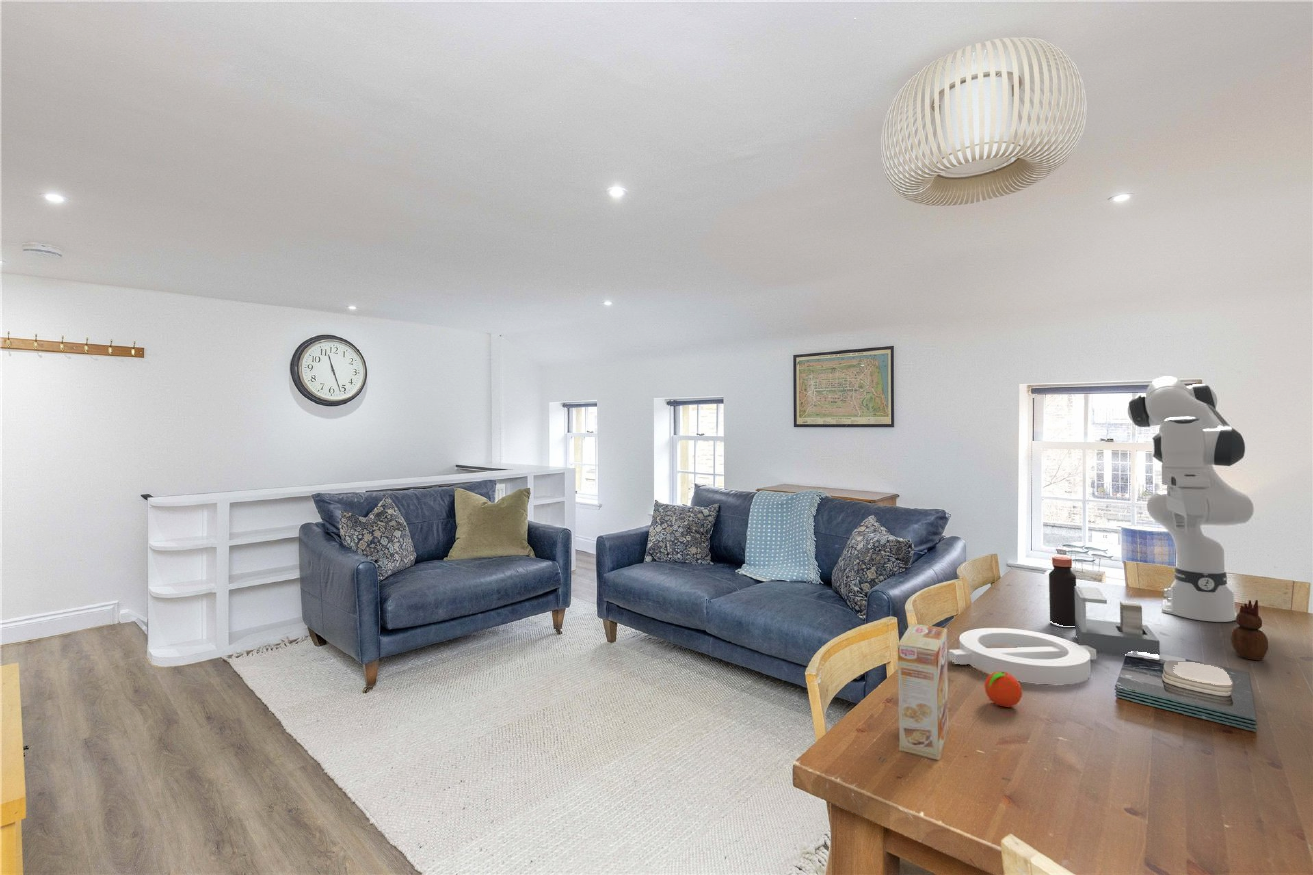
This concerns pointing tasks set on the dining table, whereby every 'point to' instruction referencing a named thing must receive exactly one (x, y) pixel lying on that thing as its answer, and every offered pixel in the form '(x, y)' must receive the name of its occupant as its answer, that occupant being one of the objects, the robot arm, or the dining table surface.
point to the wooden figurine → (1249, 634)
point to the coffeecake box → (923, 690)
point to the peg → (1131, 617)
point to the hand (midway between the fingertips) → (1185, 531)
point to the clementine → (1003, 689)
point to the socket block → (1108, 629)
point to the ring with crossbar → (1025, 655)
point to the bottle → (1062, 592)
